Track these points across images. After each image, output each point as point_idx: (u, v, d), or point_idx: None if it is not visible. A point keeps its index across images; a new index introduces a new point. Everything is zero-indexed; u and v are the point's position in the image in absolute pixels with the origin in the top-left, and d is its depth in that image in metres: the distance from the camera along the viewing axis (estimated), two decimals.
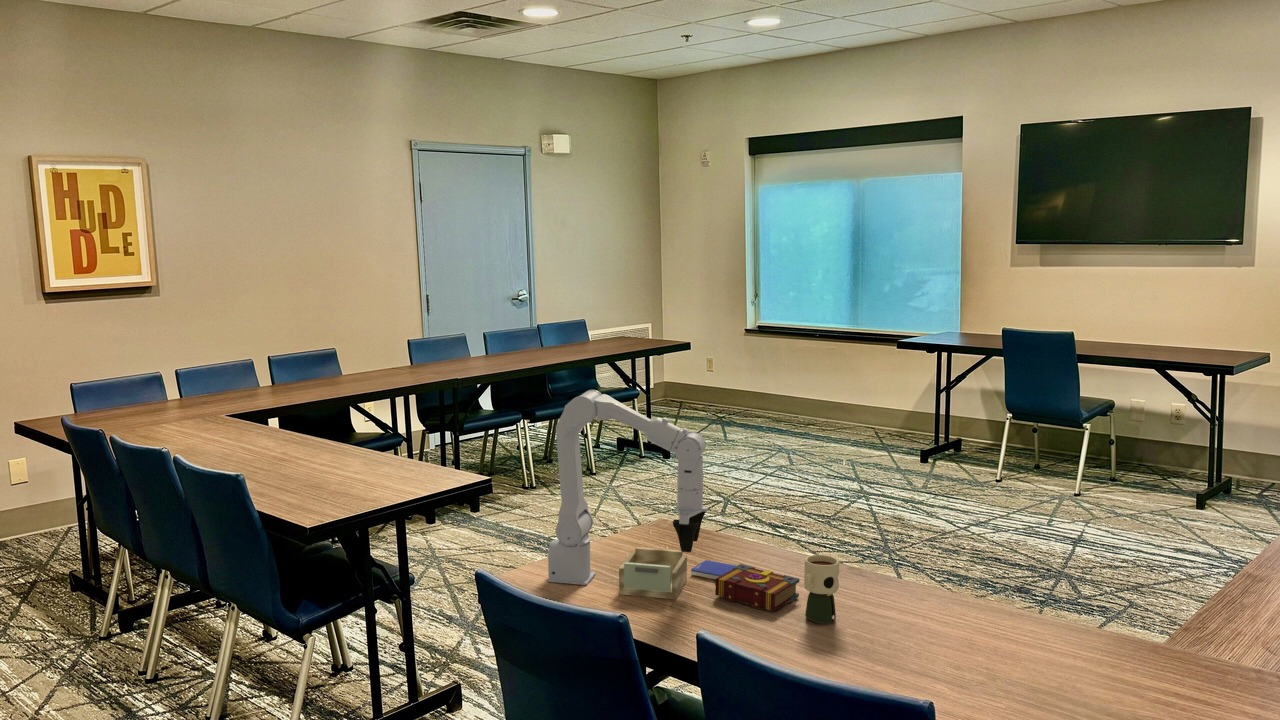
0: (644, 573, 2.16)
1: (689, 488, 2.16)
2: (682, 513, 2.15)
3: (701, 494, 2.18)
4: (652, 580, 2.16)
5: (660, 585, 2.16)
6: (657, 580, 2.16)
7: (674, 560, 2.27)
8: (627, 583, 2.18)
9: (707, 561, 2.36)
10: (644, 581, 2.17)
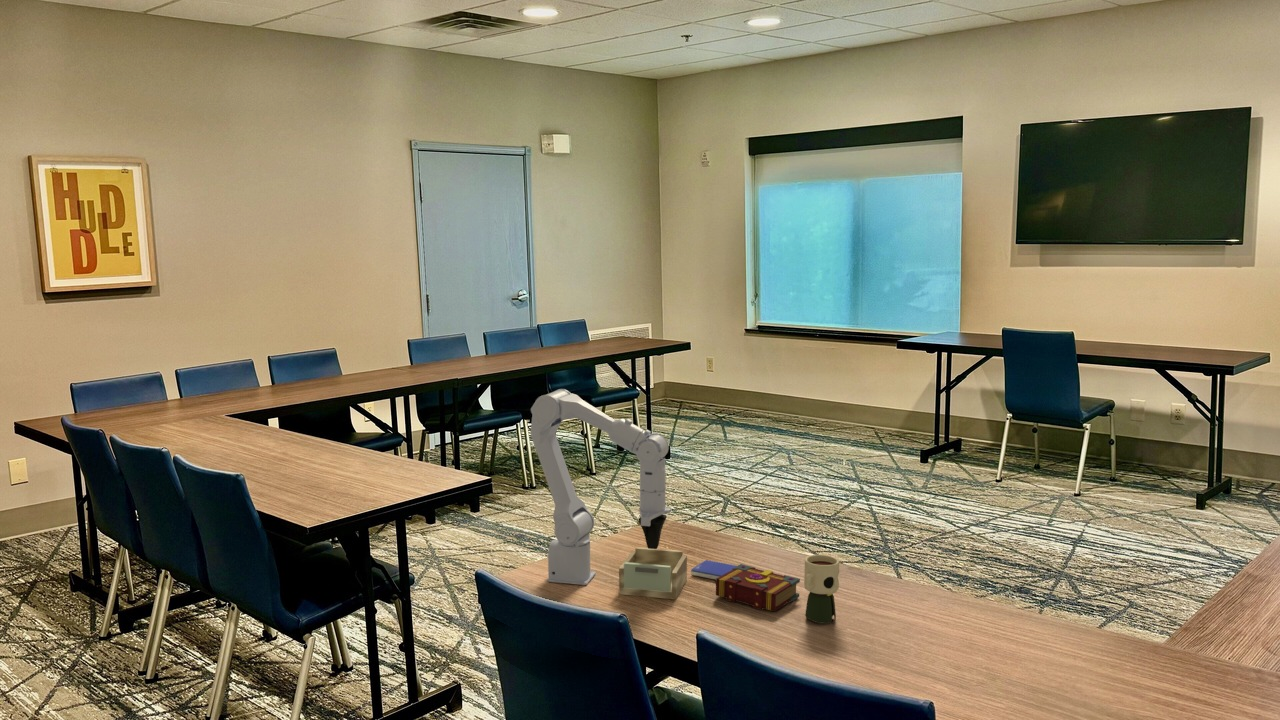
0: (644, 573, 2.16)
1: (650, 490, 2.16)
2: (644, 515, 2.15)
3: (663, 496, 2.18)
4: (652, 580, 2.16)
5: (660, 585, 2.16)
6: (657, 580, 2.16)
7: (674, 560, 2.27)
8: (627, 583, 2.18)
9: (707, 561, 2.35)
10: (644, 581, 2.17)
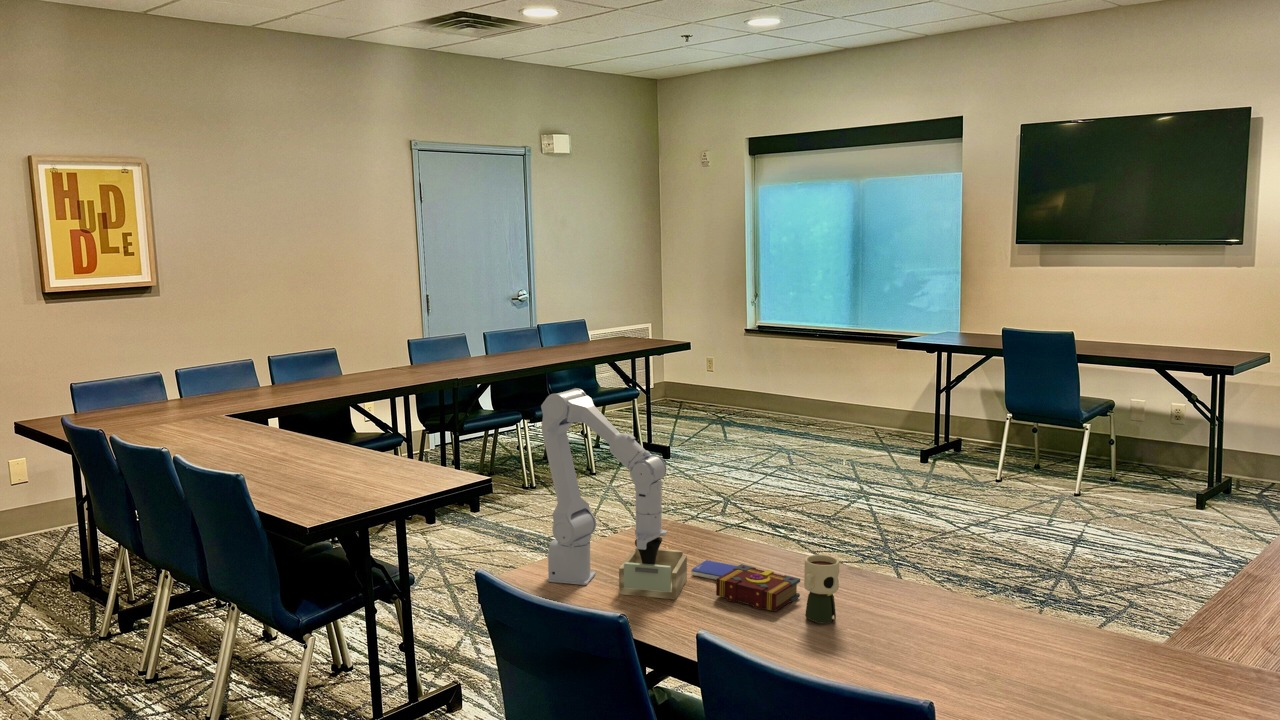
0: (644, 573, 2.16)
1: (643, 512, 2.13)
2: (640, 538, 2.12)
3: (659, 518, 2.15)
4: (652, 580, 2.16)
5: (660, 585, 2.16)
6: (657, 580, 2.16)
7: (674, 560, 2.27)
8: (627, 583, 2.18)
9: (707, 561, 2.35)
10: (644, 581, 2.17)
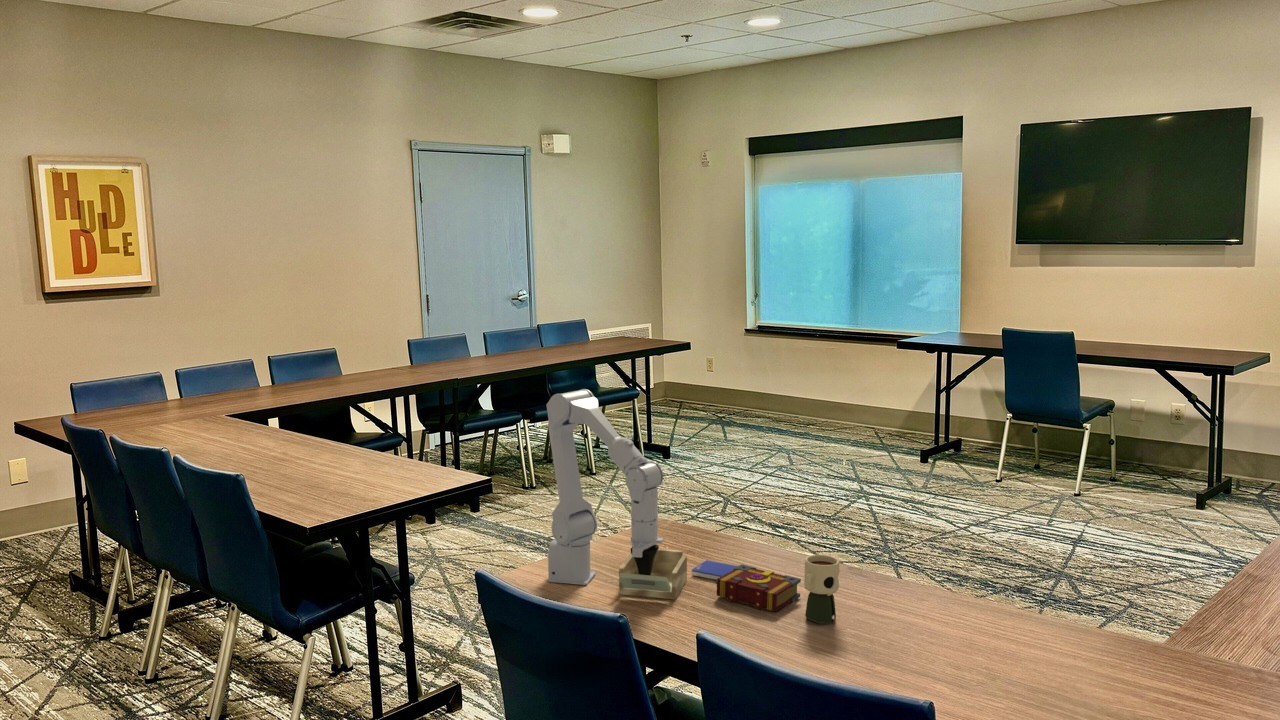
0: None
1: (637, 519, 2.10)
2: (636, 545, 2.09)
3: (656, 525, 2.11)
4: (650, 586, 2.15)
5: (659, 588, 2.15)
6: (655, 586, 2.14)
7: (674, 560, 2.27)
8: (626, 586, 2.17)
9: (708, 561, 2.35)
10: (643, 586, 2.15)
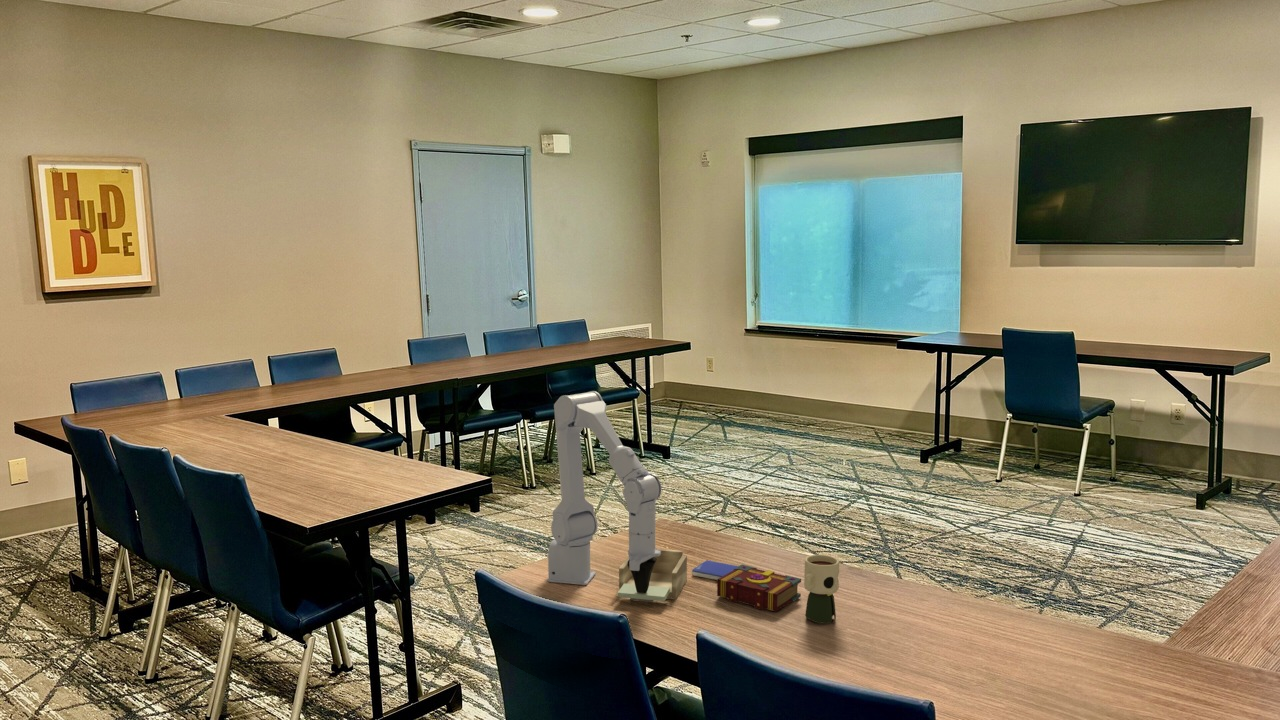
0: None
1: (633, 531, 2.08)
2: (633, 558, 2.07)
3: (653, 538, 2.09)
4: None
5: None
6: None
7: (674, 560, 2.27)
8: None
9: (708, 561, 2.35)
10: None
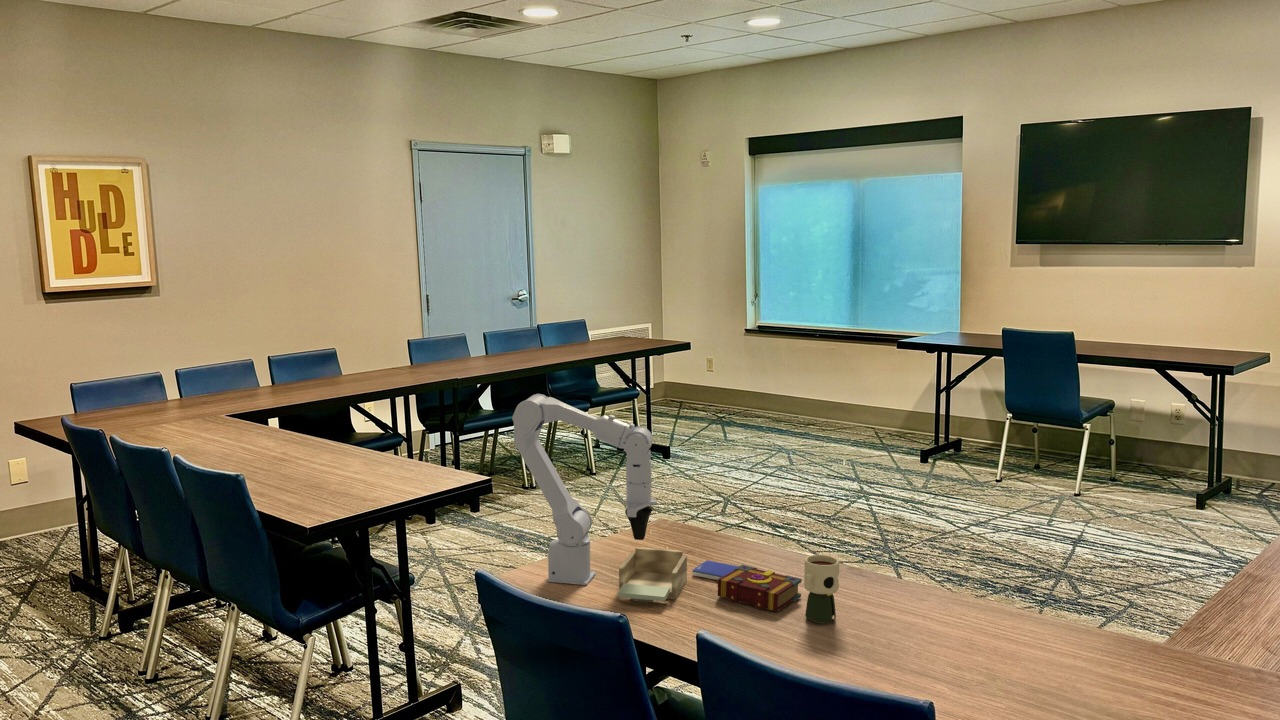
0: None
1: (638, 482, 2.20)
2: (630, 506, 2.19)
3: (649, 487, 2.22)
4: None
5: None
6: None
7: (674, 560, 2.27)
8: None
9: (708, 561, 2.35)
10: None
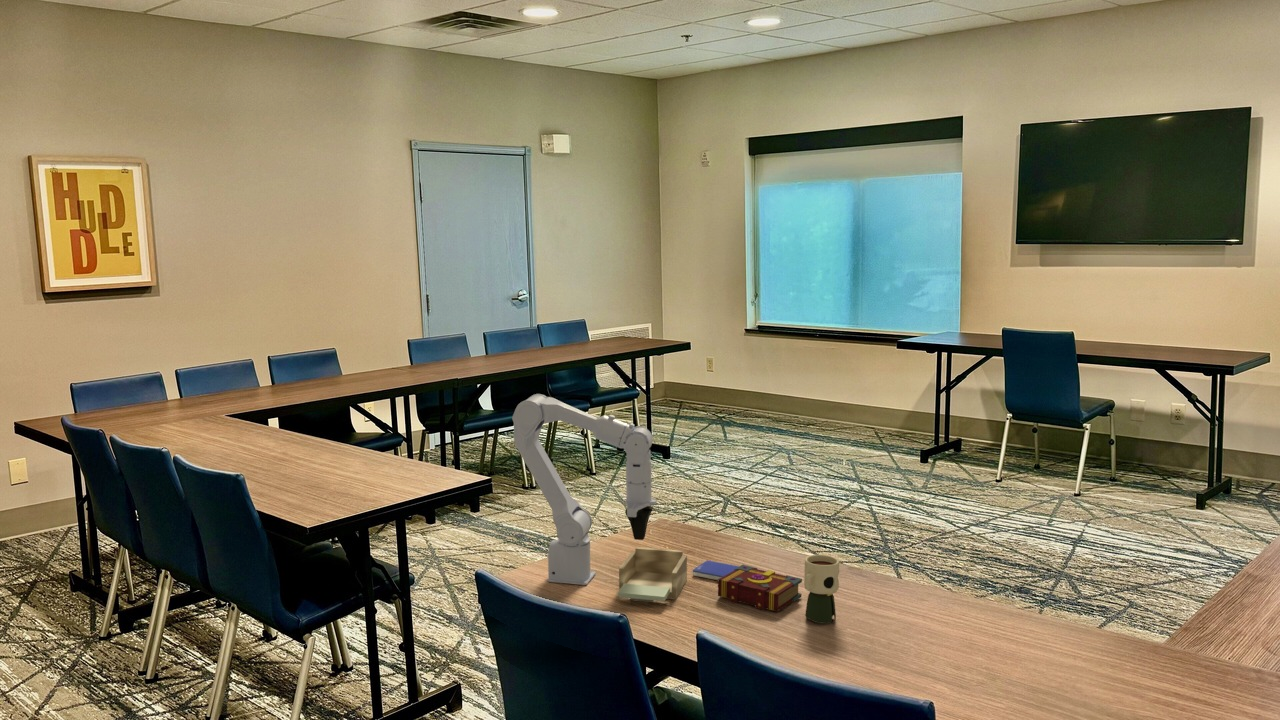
0: None
1: (638, 482, 2.20)
2: (630, 506, 2.19)
3: (649, 487, 2.22)
4: None
5: None
6: None
7: (674, 560, 2.27)
8: None
9: (708, 561, 2.35)
10: None
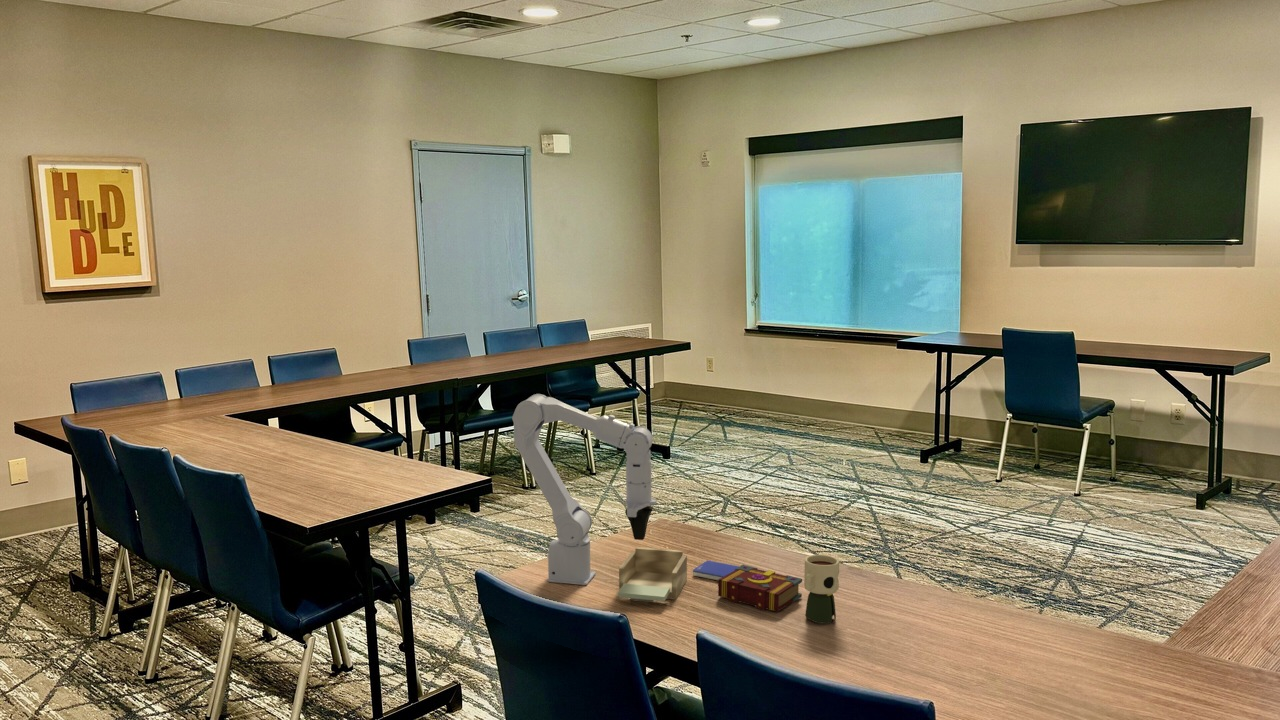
0: None
1: (638, 482, 2.20)
2: (630, 506, 2.19)
3: (649, 487, 2.22)
4: None
5: None
6: None
7: (674, 560, 2.27)
8: None
9: (709, 561, 2.35)
10: None
